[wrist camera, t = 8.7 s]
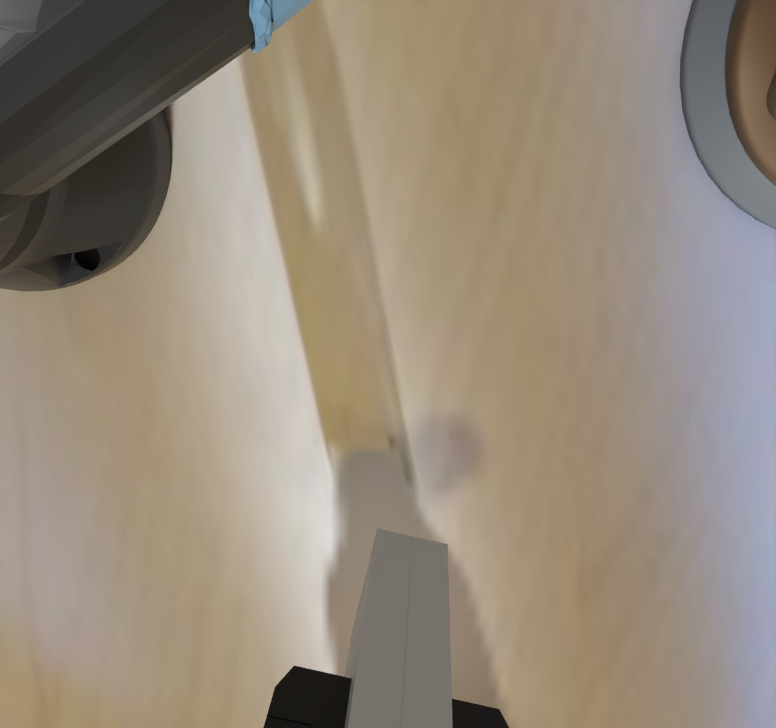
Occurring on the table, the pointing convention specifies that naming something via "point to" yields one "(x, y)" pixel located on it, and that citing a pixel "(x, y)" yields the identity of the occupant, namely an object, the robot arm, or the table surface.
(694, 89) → the gauge plate
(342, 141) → the table surface
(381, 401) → the table surface
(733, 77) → the dial
